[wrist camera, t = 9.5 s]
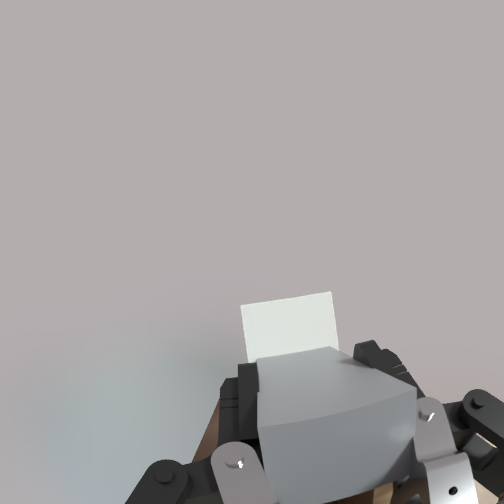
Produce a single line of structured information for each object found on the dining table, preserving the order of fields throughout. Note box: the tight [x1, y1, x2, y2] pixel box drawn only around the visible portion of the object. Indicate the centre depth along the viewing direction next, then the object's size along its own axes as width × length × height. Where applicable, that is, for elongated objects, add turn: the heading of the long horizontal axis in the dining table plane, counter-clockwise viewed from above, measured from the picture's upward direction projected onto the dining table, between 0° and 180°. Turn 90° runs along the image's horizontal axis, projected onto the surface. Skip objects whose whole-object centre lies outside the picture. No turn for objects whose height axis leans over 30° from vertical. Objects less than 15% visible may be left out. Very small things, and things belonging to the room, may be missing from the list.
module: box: [241, 291, 417, 504], centre depth 16 cm, size 5×21×6 cm, turn 179°
